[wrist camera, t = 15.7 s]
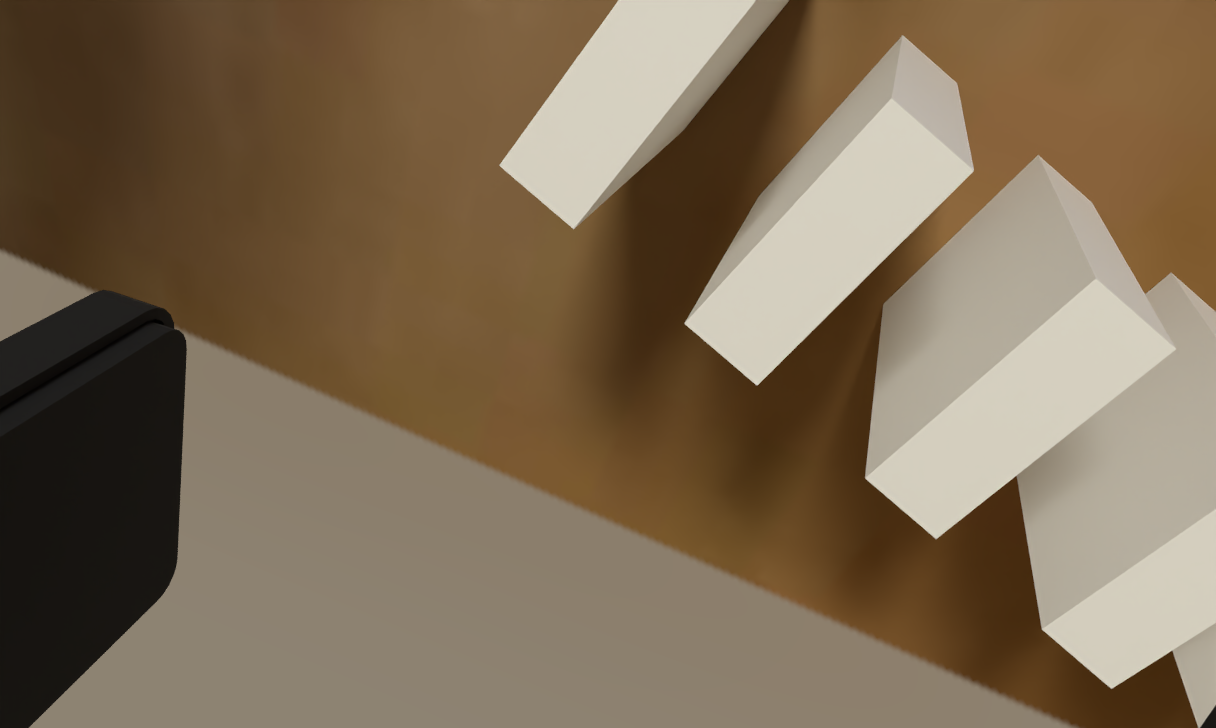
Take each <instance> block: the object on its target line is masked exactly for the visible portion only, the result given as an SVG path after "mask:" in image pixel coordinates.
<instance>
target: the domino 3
mask: <svg viewBox="0 0 1216 728" xmlns="http://www.w3.org/2000/svg"><path fill="white" fill-rule="evenodd" d="M1175 350H1176V348H1175V346H1174V344H1173V342H1172V341H1171V339H1170V337H1169V335H1168V334H1167V332H1166V330H1165V329H1164V327H1163V325H1162V323H1161V322H1160V320H1159V318H1158V316H1157V315H1156V313H1155V311H1154V309H1153V308H1152V306H1151V304H1150V303H1149V301H1148V299H1147V297H1146V296H1145V294H1144V292H1143V290H1142V289H1141V287H1140V285H1139V283H1138V282H1137V280H1136V278H1135V277H1134V275H1133V273H1132V271H1131V270H1130V268H1129V266H1128V264H1127V263H1126V261H1125V259H1124V258H1123V256H1122V254H1121V252H1120V251H1119V249H1118V247H1117V245H1116V244H1115V242H1114V240H1113V238H1112V237H1111V235H1110V233H1109V232H1108V230H1107V228H1106V226H1105V225H1104V223H1103V221H1102V219H1101V218H1100V216H1099V214H1098V213H1097V211H1096V209H1095V207H1094V206H1093V204H1092V202H1091V201H1090V200H1088V199H1087V198H1086V197H1085V196H1084V195H1083V194H1082V193H1081V192H1079V191H1078V190H1077V189H1076V188H1075V187H1074V186H1073V185H1071V184H1070V183H1069V182H1068V181H1067V180H1066V179H1065V178H1064V177H1062V176H1061V175H1060V174H1059V173H1058V172H1057V171H1056V170H1055V169H1053V168H1052V167H1051V166H1050V165H1049V164H1048V163H1047V162H1045V161H1044V160H1043V159H1042V158H1041V157H1040V156H1039V155H1037V156H1036V157H1035V158H1034V159H1033V160H1032V161H1031V162H1030V163H1029V164H1028V165H1027V166H1026V167H1025V168H1024V169H1023V170H1022V171H1021V172H1020V173H1019V174H1018V175H1017V176H1016V177H1015V178H1014V179H1013V180H1012V181H1011V182H1009V183H1008V184H1007V185H1006V186H1005V187H1004V188H1003V189H1002V190H1001V191H1000V192H999V193H998V194H997V195H996V196H995V197H994V198H993V199H992V200H991V201H990V202H989V203H988V204H987V205H986V206H985V207H984V208H983V209H981V210H980V211H979V212H978V213H977V214H976V215H975V216H974V217H973V218H972V219H971V220H970V221H969V222H968V223H967V224H966V225H965V226H964V227H963V228H962V229H961V230H960V231H959V232H958V233H957V234H956V235H955V236H953V237H952V238H951V239H950V240H949V241H948V242H947V243H946V244H945V245H944V246H943V247H942V248H941V249H940V250H939V251H938V252H937V253H936V254H935V255H934V256H933V257H932V258H931V259H930V260H929V261H928V262H927V263H925V264H924V265H923V266H922V267H921V268H920V269H919V270H918V271H917V272H916V273H915V274H914V275H913V276H912V277H911V278H910V279H909V280H908V281H907V282H906V283H905V284H904V285H903V286H902V287H901V288H900V289H899V290H897V291H896V292H895V293H894V294H893V295H892V296H891V297H890V298H889V299H888V300H887V301H886V302H885V303H884V304H883V312H882V321H881V331H880V340H879V350H878V359H877V369H876V378H875V388H874V397H873V407H872V416H871V426H870V435H869V445H868V454H867V463H866V473H865V479H866V480H868V481H869V482H870V483H871V484H872V485H873V486H875V487H876V488H877V489H878V490H879V491H880V492H882V493H883V494H884V495H885V496H886V497H887V498H889V499H890V500H891V501H892V502H893V503H894V504H896V505H897V506H898V507H899V508H900V509H902V510H903V511H904V512H905V513H906V514H907V515H909V516H910V517H911V518H912V519H913V520H914V521H916V522H917V523H918V524H919V525H920V526H921V527H923V528H924V529H925V530H926V531H927V532H928V533H930V534H931V535H932V536H933V537H934V538H935V539H937V538H938V537H939V536H941V535H942V534H943V533H944V532H946V531H947V530H948V529H950V528H951V527H952V526H953V525H955V524H956V523H957V522H958V521H960V520H961V519H962V518H963V517H965V516H966V515H967V514H969V513H970V512H971V511H972V510H974V509H975V508H976V507H977V506H979V505H980V504H981V503H982V502H984V501H985V500H986V499H987V498H989V497H990V496H991V495H993V494H994V493H995V492H996V491H998V490H999V489H1000V488H1001V487H1003V486H1004V485H1005V484H1006V483H1008V482H1009V481H1010V480H1011V479H1013V478H1014V477H1015V476H1017V475H1018V474H1019V473H1020V472H1022V471H1023V470H1024V469H1025V468H1027V467H1028V466H1029V465H1030V464H1032V463H1033V462H1034V461H1036V460H1037V459H1038V458H1039V457H1041V456H1042V455H1043V454H1044V453H1046V452H1047V451H1048V450H1049V449H1051V448H1052V447H1053V446H1054V445H1056V444H1057V443H1058V442H1060V441H1061V440H1062V439H1063V438H1065V437H1066V436H1067V435H1068V434H1070V433H1071V432H1072V431H1073V430H1075V429H1076V428H1077V427H1079V426H1080V425H1081V424H1082V423H1084V422H1085V421H1086V420H1087V419H1089V418H1090V417H1091V416H1092V415H1094V414H1095V413H1096V412H1097V411H1099V410H1100V409H1101V408H1103V407H1104V406H1105V405H1106V404H1108V403H1109V402H1110V401H1111V400H1113V399H1114V398H1115V397H1116V396H1118V395H1119V394H1120V393H1121V392H1123V391H1124V390H1125V389H1127V388H1128V387H1129V386H1130V385H1132V384H1133V383H1134V382H1135V381H1137V380H1138V379H1139V378H1140V377H1142V376H1143V375H1144V374H1146V373H1147V372H1148V371H1149V370H1151V369H1152V368H1153V367H1154V366H1156V365H1157V364H1158V363H1159V362H1161V361H1162V360H1163V359H1164V358H1166V357H1167V356H1168V355H1170V354H1171V353H1172V352H1173V351H1175Z"/></svg>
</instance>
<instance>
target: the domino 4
mask: <svg viewBox="0 0 1216 728" xmlns="http://www.w3.org/2000/svg"><path fill="white" fill-rule="evenodd" d="M1145 296H1146V297H1147V299H1148V301H1149V303H1150V304H1151V306H1152V308H1153V309H1154V311H1155V313H1156V315H1157V316H1158V318H1159V320H1160V322H1161V323H1162V325H1163V327H1164V329H1165V330H1166V332H1167V334H1168V335H1169V337H1170V339H1171V341H1172V342H1173V344H1174V346H1175V348H1176V350H1175V351H1173V352H1172V353H1171V354H1170V355H1168V356H1167V357H1166V358H1164V359H1163V360H1162V361H1161V362H1159V363H1158V364H1157V365H1156V366H1154V367H1153V368H1152V369H1151V370H1149V371H1148V372H1147V373H1146V374H1144V375H1143V376H1142V377H1140V378H1139V379H1138V380H1137V381H1135V382H1134V383H1133V384H1132V385H1130V386H1129V387H1128V388H1127V389H1125V390H1124V391H1123V392H1121V393H1120V394H1119V395H1118V396H1116V397H1115V398H1114V399H1113V400H1111V401H1110V402H1109V403H1108V404H1106V405H1105V406H1104V407H1103V408H1101V409H1100V410H1099V411H1097V412H1096V413H1095V414H1094V415H1092V416H1091V417H1090V418H1089V419H1087V420H1086V421H1085V422H1084V423H1082V424H1081V425H1080V426H1079V427H1077V428H1076V429H1075V430H1073V431H1072V432H1071V433H1070V434H1068V435H1067V436H1066V437H1065V438H1063V439H1062V440H1061V441H1060V442H1058V443H1057V444H1056V445H1054V446H1053V447H1052V448H1051V449H1049V450H1048V451H1047V452H1046V453H1044V454H1043V455H1042V456H1041V457H1039V458H1038V459H1037V460H1036V461H1034V462H1033V463H1032V464H1030V465H1029V466H1028V467H1027V468H1025V469H1024V470H1023V471H1022V472H1020V473H1019V474H1018V475H1017V481H1018V487H1019V493H1020V499H1021V505H1022V512H1023V518H1024V524H1025V530H1026V536H1027V542H1028V548H1029V554H1030V560H1031V567H1032V573H1033V579H1034V585H1035V591H1036V597H1037V603H1038V609H1039V615H1040V622H1041V628H1042V630H1043V631H1044V632H1045V633H1047V634H1048V635H1049V636H1050V637H1051V638H1052V639H1054V640H1055V641H1056V642H1057V643H1058V644H1060V645H1061V646H1062V647H1063V648H1064V649H1065V650H1067V651H1068V652H1069V653H1070V654H1071V655H1072V656H1074V657H1075V658H1076V659H1077V660H1078V661H1079V662H1081V663H1082V664H1083V665H1084V666H1085V667H1086V668H1088V669H1089V670H1090V671H1091V672H1092V673H1093V674H1095V675H1096V676H1097V677H1098V678H1099V679H1100V680H1102V681H1103V682H1104V683H1105V684H1106V685H1107V686H1109V687H1110V688H1111V689H1112V688H1114V687H1115V686H1117V685H1118V684H1120V683H1122V682H1123V681H1125V680H1126V679H1128V678H1129V677H1131V676H1133V675H1134V674H1136V673H1137V672H1139V671H1141V670H1142V669H1144V668H1145V667H1147V666H1148V665H1150V664H1152V663H1153V662H1155V661H1156V660H1158V659H1159V658H1161V657H1163V656H1164V655H1166V654H1167V653H1169V652H1171V651H1172V650H1174V649H1175V648H1177V647H1178V646H1180V645H1182V644H1183V643H1185V642H1186V641H1188V640H1189V639H1191V638H1193V637H1194V636H1196V635H1197V634H1199V633H1201V632H1202V631H1204V630H1205V629H1207V628H1208V627H1210V626H1212V625H1213V624H1215V623H1216V312H1215V311H1214V310H1213V309H1212V308H1211V307H1209V306H1208V305H1207V304H1206V303H1205V302H1204V301H1203V300H1202V299H1200V298H1199V297H1198V296H1197V295H1196V294H1195V293H1194V292H1193V291H1191V290H1190V289H1189V288H1188V287H1187V286H1186V285H1185V284H1183V283H1182V282H1181V281H1180V280H1179V279H1178V278H1177V277H1176V276H1174V275H1173V274H1172V273H1170V274H1169V275H1168V276H1167V277H1165V278H1164V279H1163V280H1162V281H1161V282H1159V283H1158V284H1157V285H1156V286H1155V287H1153V288H1152V289H1151V290H1150V291H1149V292H1147V293H1146V294H1145Z"/></svg>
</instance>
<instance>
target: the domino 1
mask: <svg viewBox="0 0 1216 728" xmlns="http://www.w3.org/2000/svg"><path fill="white" fill-rule="evenodd" d="M788 2H789V0H619V1H618V2H617V3H616V5H615V6H614V8H613V9H612V10H611V12H610V13H609V14H608V16H607V17H606V19H605V20H604V21H603V23H602V24H601V26H600V27H599V28H598V30H597V31H596V32H595V34H594V35H593V37H592V38H591V39H590V41H589V42H588V44H587V45H586V46H585V48H584V49H583V50H582V52H581V53H580V55H579V56H578V57H577V59H576V60H575V62H574V63H573V64H572V66H571V67H570V68H569V70H568V71H567V73H566V74H565V75H564V77H563V78H562V80H561V81H560V82H559V84H558V85H557V86H556V88H555V89H554V91H553V92H552V93H551V95H550V96H549V98H548V99H547V100H546V102H545V103H544V104H543V106H542V107H541V109H540V110H539V111H538V113H537V114H536V116H535V117H534V118H533V120H532V121H531V122H530V124H529V125H528V127H527V128H526V129H525V131H524V132H523V134H522V135H521V136H520V138H519V139H518V140H517V142H516V143H515V145H514V146H513V147H512V149H511V150H510V152H509V153H508V154H507V156H506V157H505V158H504V160H503V161H502V163H501V164H500V165H499V166H500V167H502V168H503V169H504V170H505V171H506V172H507V173H509V174H510V175H511V176H512V177H513V178H514V179H516V180H517V181H518V182H519V183H520V184H522V185H523V186H524V187H525V188H526V189H527V190H529V191H530V192H531V193H532V194H533V195H534V196H536V197H537V198H538V199H539V200H540V201H541V202H543V203H544V204H545V205H546V206H547V207H548V208H550V209H551V210H552V211H553V212H554V213H555V214H557V215H558V216H559V217H560V218H561V219H562V220H564V221H565V222H566V223H567V224H568V225H569V226H571V227H572V228H573V229H575V228H576V227H577V226H578V225H579V224H580V223H581V222H582V221H583V220H585V219H586V218H587V217H588V216H589V215H590V214H591V213H592V212H593V211H595V210H596V209H597V208H598V207H599V206H600V205H601V204H602V203H603V202H605V201H606V200H607V199H608V198H609V197H610V196H611V195H612V194H613V193H615V192H616V191H617V190H618V189H619V188H620V187H621V186H622V185H623V184H625V183H626V182H627V181H628V180H629V179H630V178H631V177H632V176H633V175H635V174H636V173H637V172H638V171H639V170H640V169H641V168H642V167H643V166H645V165H646V164H647V163H648V162H649V161H650V160H651V159H652V158H653V157H655V156H656V155H657V154H658V153H659V152H660V151H661V150H662V149H663V148H665V147H666V146H667V145H668V144H669V143H670V142H671V141H672V140H673V139H675V138H676V137H677V136H678V135H679V134H680V133H681V132H682V131H683V130H684V129H685V128H686V127H687V125H688V124H689V123H690V122H691V121H692V119H693V118H694V117H695V116H696V114H697V113H698V112H699V111H700V110H701V108H702V107H703V106H704V105H705V103H706V102H707V101H708V100H709V98H710V97H711V96H712V95H713V94H714V92H715V91H716V90H717V89H718V87H719V86H720V85H721V84H722V83H723V81H724V80H725V79H726V78H727V76H728V75H729V74H730V73H731V71H732V70H733V69H734V68H735V67H736V65H737V64H738V63H739V62H740V60H741V59H742V58H743V57H744V56H745V54H746V53H747V52H748V51H749V49H750V48H751V47H752V46H753V44H754V43H755V42H756V41H757V40H758V38H759V37H760V36H761V35H762V33H763V32H764V31H765V30H766V29H767V27H768V26H769V25H770V24H771V22H772V21H773V20H774V19H775V18H776V16H777V15H778V14H779V13H780V11H781V10H782V9H783V8H784V6H785V5H786V4H787V3H788Z"/></svg>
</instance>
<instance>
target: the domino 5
mask: <svg viewBox="0 0 1216 728" xmlns="http://www.w3.org/2000/svg"><path fill="white" fill-rule="evenodd" d="M1172 651H1173V654H1174V657H1175V660H1176V663H1177V666H1178V669H1179V672H1180V675H1181V678H1182V681H1183V684H1184V687H1185V690H1186V693H1187V696H1188V699H1189V702H1190V705H1191V708H1192V711H1193V713H1194V716H1195V719H1196V722H1197V725H1198V728H1200V727H1201V725H1202V724H1203V723H1204V721H1205V720H1206V718H1207V717H1208V715H1209V714H1210V712H1211V711H1212V710H1213V708H1214V707H1215V705H1216V623H1215V624H1213V625H1212V626H1210V627H1208V628H1207V629H1205V630H1204V631H1202V632H1201V633H1199V634H1197V635H1196V636H1194V637H1193V638H1191V639H1189V640H1188V641H1186V642H1185V643H1183V644H1182V645H1180V646H1178V647H1177V648H1175V649H1174V650H1172Z"/></svg>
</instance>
